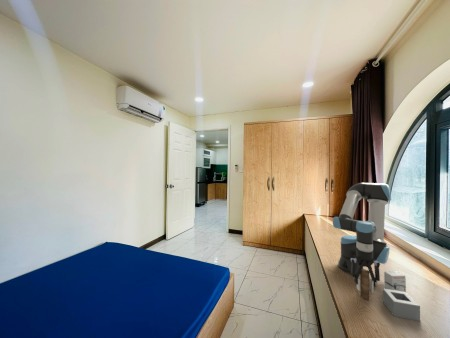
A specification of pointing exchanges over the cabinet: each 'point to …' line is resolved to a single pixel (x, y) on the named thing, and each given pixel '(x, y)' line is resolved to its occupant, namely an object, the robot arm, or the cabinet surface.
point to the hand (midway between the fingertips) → (364, 290)
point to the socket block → (401, 304)
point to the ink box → (395, 281)
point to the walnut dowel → (364, 284)
